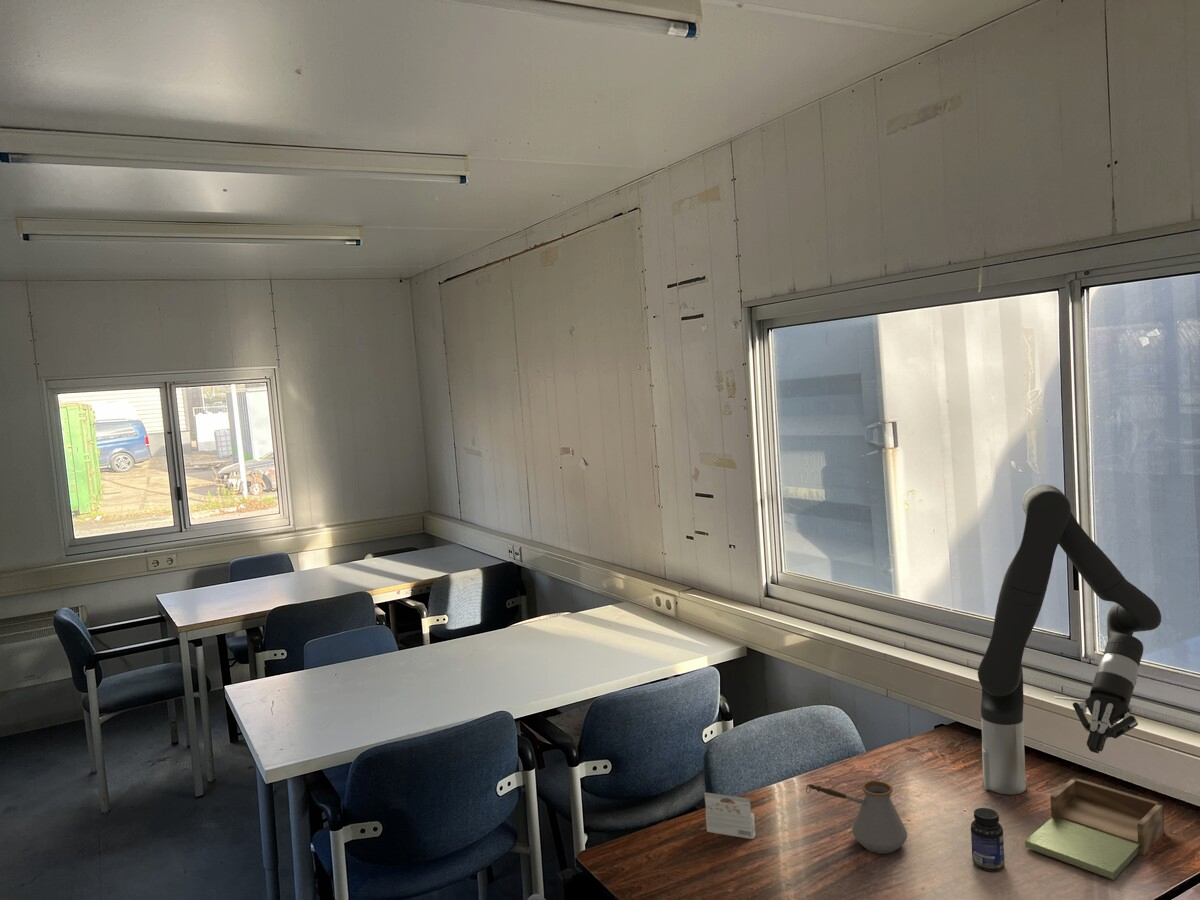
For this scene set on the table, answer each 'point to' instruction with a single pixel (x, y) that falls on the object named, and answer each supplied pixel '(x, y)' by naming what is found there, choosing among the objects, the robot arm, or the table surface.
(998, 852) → the pill bottle
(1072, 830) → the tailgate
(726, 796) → the ink cartridge box
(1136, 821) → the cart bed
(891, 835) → the coffee pot
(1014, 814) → the table surface
